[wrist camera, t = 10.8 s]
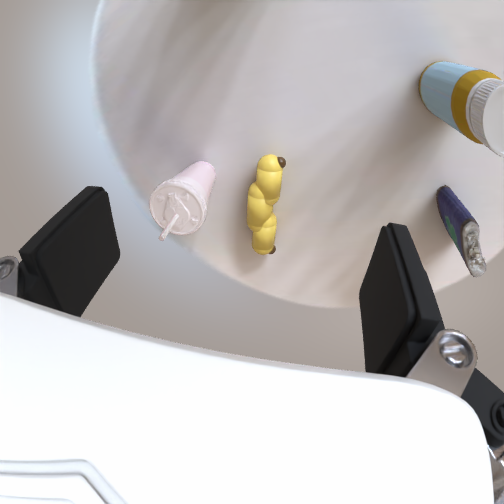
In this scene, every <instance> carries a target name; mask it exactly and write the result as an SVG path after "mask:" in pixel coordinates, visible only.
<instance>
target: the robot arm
mask: <svg viewBox="0 0 504 504" xmlns="http://www.w3.org/2000/svg"><path fill="white" fill-rule="evenodd" d="M19 253H20V256H21V258H22V261H21V262H20V263H19V262H18V260H17V258H16V257H13V256H6V257H2V258H0V504H504V393H503V392H502V391H501V390H500V389H499V388H498V387H497V386H496V385H494V384H493V383H492V382H491V381H490V380H489V379H488V378H487V377H485V376H484V375H483V374H482V373H481V372H480V371H479V370H477V369H476V368H475V366H476V363H477V359H478V357H477V352H476V349H475V346H474V344H473V343H472V341H471V340H470V339H469V338H468V337H467V336H466V335H464V334H463V333H461V332H460V331H457V330H454V329H445V327H444V324H443V321H442V317H441V314H440V311H439V308H438V305H437V302H436V299H435V296H434V293H433V290H432V287H431V284H430V281H429V278H428V276H427V273H426V271H425V270H424V268H423V266H422V263H421V260H420V258H419V255H418V253H417V250H416V248H415V245H414V243H413V240H412V238H411V235H410V233H409V231H408V228H407V226H405V225H400V224H395V223H389V224H388V225H387V227H386V226H383V227H382V228H381V231H380V234H379V237H378V240H377V243H376V246H375V249H374V252H373V255H372V258H371V260H370V263H369V266H368V269H367V272H366V274H365V277H364V280H363V283H362V285H361V288H360V293H359V301H360V309H361V319H362V330H363V341H364V355H365V369H366V372H358V371H349V370H340V369H331V368H323V367H315V366H308V365H300V364H293V363H286V362H279V361H272V360H265V359H259V358H253V357H247V356H241V355H236V354H230V353H225V352H220V351H215V350H209V349H204V348H200V347H195V346H189V345H185V344H181V343H176V342H171V341H167V340H163V339H159V338H155V337H150V336H146V335H142V334H138V333H134V332H130V331H126V330H123V329H119V328H115V327H112V326H108V325H105V324H101V323H97V322H94V321H90V320H87V319H84V318H80V317H81V315H82V314H83V312H84V311H85V309H86V307H87V306H88V304H89V303H90V301H91V299H92V298H93V297H94V295H95V294H96V292H97V291H98V289H99V288H100V286H101V285H102V283H103V282H104V280H105V279H106V278H107V276H108V275H109V273H110V272H111V270H112V269H113V268H114V266H115V265H116V263H117V262H118V260H119V258H120V249H119V245H118V240H117V236H116V232H115V227H114V222H113V218H112V212H111V207H110V202H109V197H108V193H107V192H106V191H105V190H104V189H103V188H102V187H95V186H88V187H86V188H85V189H84V190H82V191H81V192H80V193H79V194H78V195H77V196H76V197H74V198H73V199H72V200H71V201H70V202H69V203H68V204H67V205H65V206H64V207H63V208H62V209H61V210H60V211H59V212H58V213H57V214H55V215H54V216H53V217H52V218H51V219H50V220H49V221H48V222H47V223H46V224H45V225H44V226H43V227H42V228H41V229H40V230H39V231H38V232H37V233H36V234H35V235H34V236H33V237H32V238H31V239H30V240H29V241H28V242H27V243H26V244H25V245H24V246H23V247H22V248H21V249H20V250H19Z"/></svg>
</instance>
